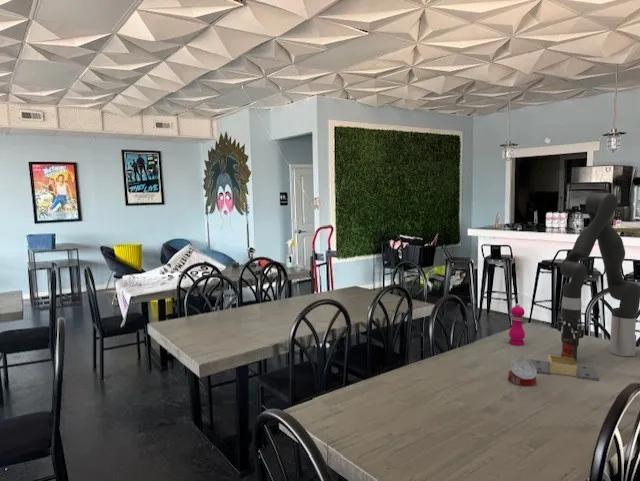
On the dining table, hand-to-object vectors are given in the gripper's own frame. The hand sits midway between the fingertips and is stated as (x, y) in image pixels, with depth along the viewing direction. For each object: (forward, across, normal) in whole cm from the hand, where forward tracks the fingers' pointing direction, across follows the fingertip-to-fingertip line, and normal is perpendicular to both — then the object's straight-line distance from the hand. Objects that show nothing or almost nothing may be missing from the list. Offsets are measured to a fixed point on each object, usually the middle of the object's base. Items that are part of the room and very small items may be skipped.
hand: (569, 344), depth 201 cm
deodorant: (+7, 0, 0) cm, 7 cm away
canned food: (+7, -16, +35) cm, 39 cm away
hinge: (+7, -10, +13) cm, 18 cm away
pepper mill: (+7, +24, +9) cm, 26 cm away
